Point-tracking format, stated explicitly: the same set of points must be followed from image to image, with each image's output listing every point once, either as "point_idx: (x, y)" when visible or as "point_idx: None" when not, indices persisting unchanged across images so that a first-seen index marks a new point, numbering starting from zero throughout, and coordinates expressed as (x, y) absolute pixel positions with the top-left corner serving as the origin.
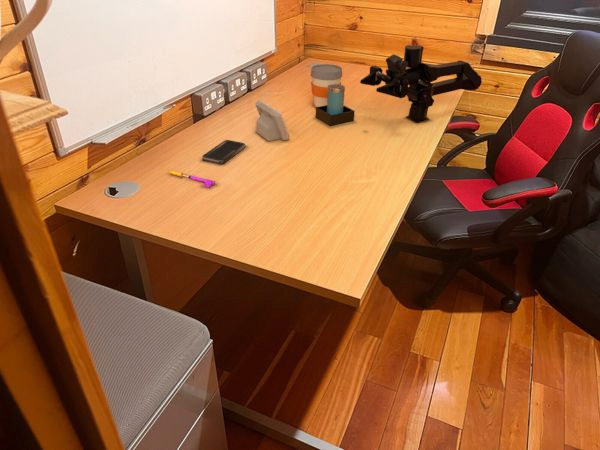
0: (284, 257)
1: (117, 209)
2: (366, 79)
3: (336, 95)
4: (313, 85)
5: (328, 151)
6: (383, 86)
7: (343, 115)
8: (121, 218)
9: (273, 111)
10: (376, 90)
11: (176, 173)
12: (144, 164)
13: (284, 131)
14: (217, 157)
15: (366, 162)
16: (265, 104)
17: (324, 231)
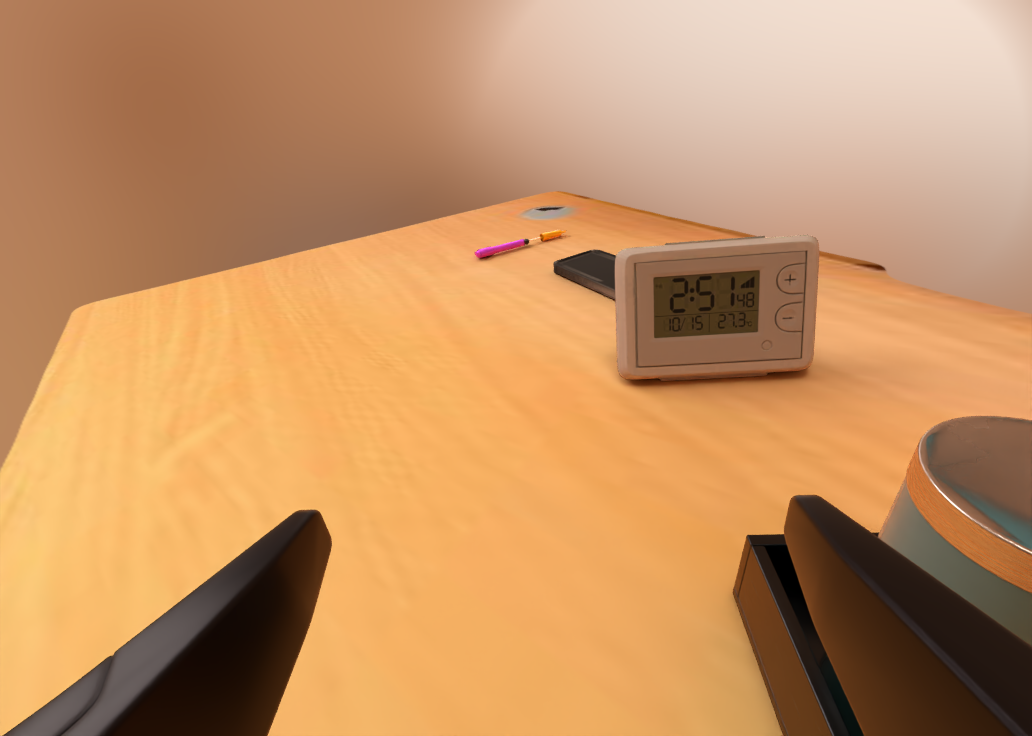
0: (223, 280)
1: (496, 211)
2: (875, 627)
3: (896, 502)
4: None
5: (451, 448)
6: (197, 601)
7: (796, 676)
8: (471, 213)
9: (653, 246)
10: (320, 527)
11: (548, 232)
12: (622, 221)
13: (616, 332)
14: (577, 261)
15: (250, 515)
16: (746, 241)
17: (194, 318)
